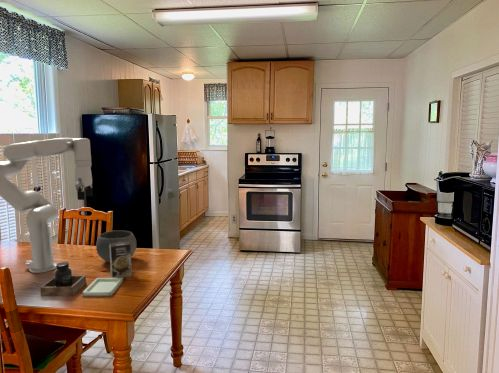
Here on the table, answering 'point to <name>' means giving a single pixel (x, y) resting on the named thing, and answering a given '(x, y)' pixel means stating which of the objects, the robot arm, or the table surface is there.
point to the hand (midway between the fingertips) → (85, 197)
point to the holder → (51, 290)
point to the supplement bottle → (63, 275)
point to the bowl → (114, 237)
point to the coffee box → (120, 260)
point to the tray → (102, 287)
